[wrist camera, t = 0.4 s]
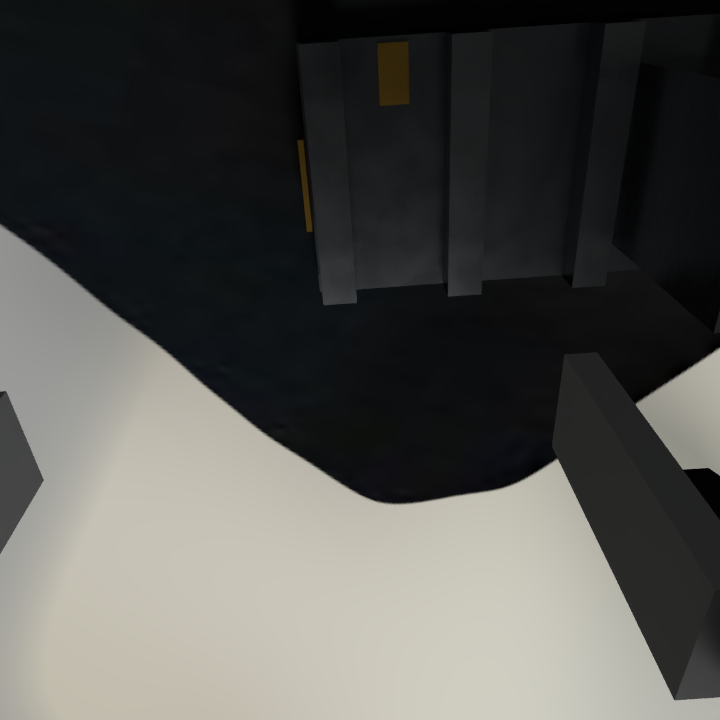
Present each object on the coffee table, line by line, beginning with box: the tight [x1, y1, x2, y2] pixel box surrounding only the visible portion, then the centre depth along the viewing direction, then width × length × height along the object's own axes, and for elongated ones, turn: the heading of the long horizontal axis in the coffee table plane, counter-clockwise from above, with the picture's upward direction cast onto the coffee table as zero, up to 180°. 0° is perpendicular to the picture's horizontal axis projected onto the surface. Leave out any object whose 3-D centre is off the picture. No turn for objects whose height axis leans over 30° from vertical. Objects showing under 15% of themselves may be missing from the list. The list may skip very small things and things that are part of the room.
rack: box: [295, 12, 720, 333], centre depth 31 cm, size 14×25×14 cm, turn 93°
